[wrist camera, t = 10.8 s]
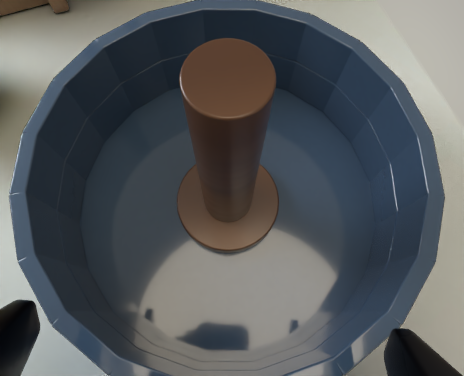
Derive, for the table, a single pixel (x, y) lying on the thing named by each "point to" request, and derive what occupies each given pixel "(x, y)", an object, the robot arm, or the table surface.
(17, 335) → the robot arm
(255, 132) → the brown wooden peg
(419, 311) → the table surface
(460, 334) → the table surface
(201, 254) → the bowl
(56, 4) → the wooden puzzle
